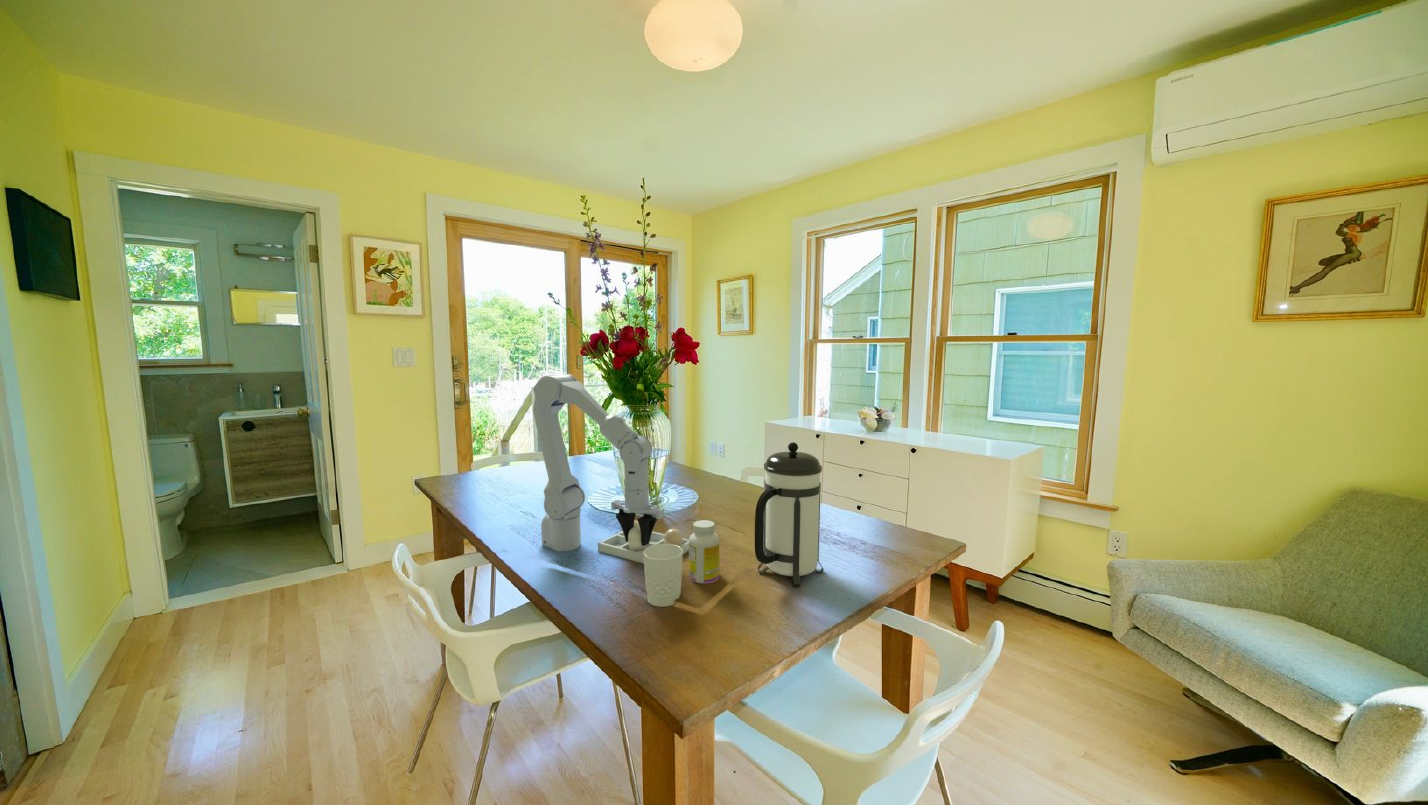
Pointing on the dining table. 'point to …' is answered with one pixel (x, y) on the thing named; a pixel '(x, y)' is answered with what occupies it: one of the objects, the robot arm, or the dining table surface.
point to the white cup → (663, 574)
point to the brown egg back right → (673, 537)
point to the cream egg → (635, 540)
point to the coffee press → (789, 515)
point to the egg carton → (620, 548)
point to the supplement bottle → (704, 553)
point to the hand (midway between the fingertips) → (637, 542)
